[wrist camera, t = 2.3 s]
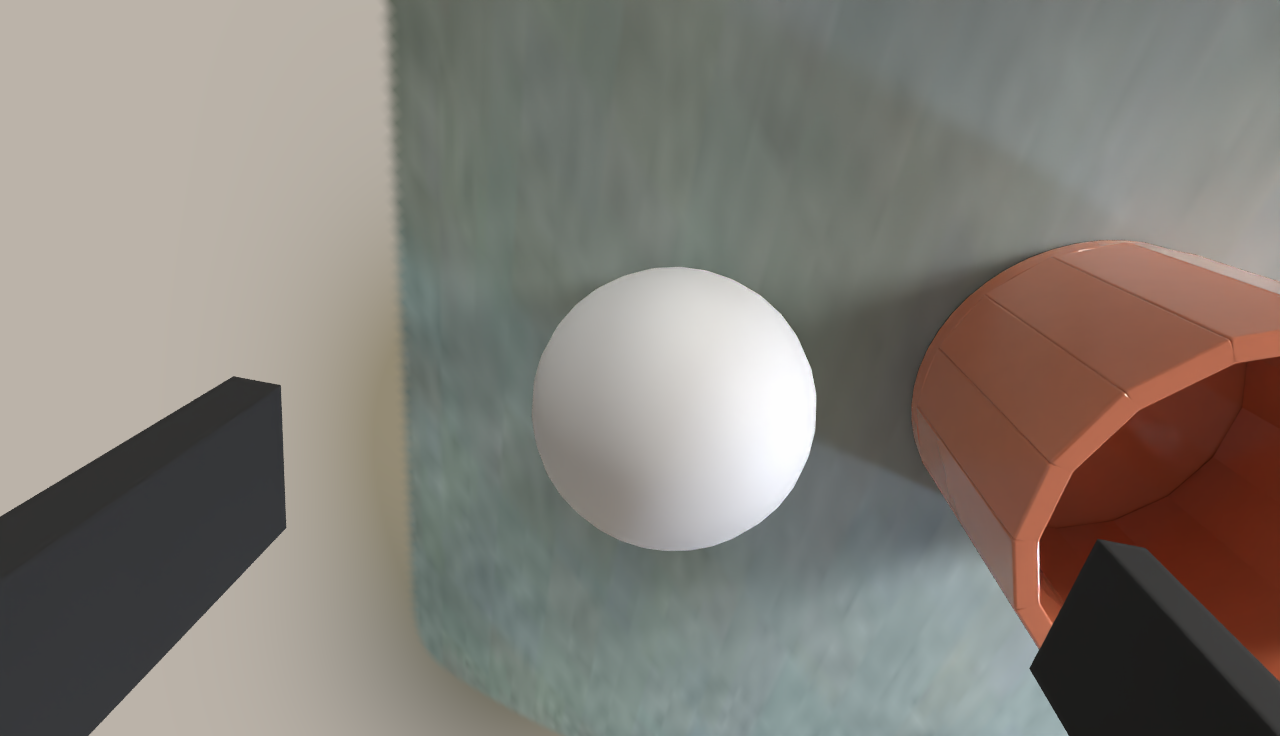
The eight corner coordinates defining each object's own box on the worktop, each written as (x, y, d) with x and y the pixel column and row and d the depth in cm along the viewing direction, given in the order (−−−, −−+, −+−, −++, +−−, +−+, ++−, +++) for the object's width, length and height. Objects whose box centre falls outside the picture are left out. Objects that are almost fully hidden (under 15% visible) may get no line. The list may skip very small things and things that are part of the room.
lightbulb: (782, 210, 21) (869, 327, 11) (763, 391, 23) (820, 627, 13) (586, 203, 21) (487, 310, 11) (587, 382, 23) (507, 605, 13)
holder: (854, 355, 22) (935, 485, 15) (1178, 169, 19) (1474, 217, 12) (990, 570, 25) (1114, 768, 18) (1290, 435, 22) (1585, 606, 15)
